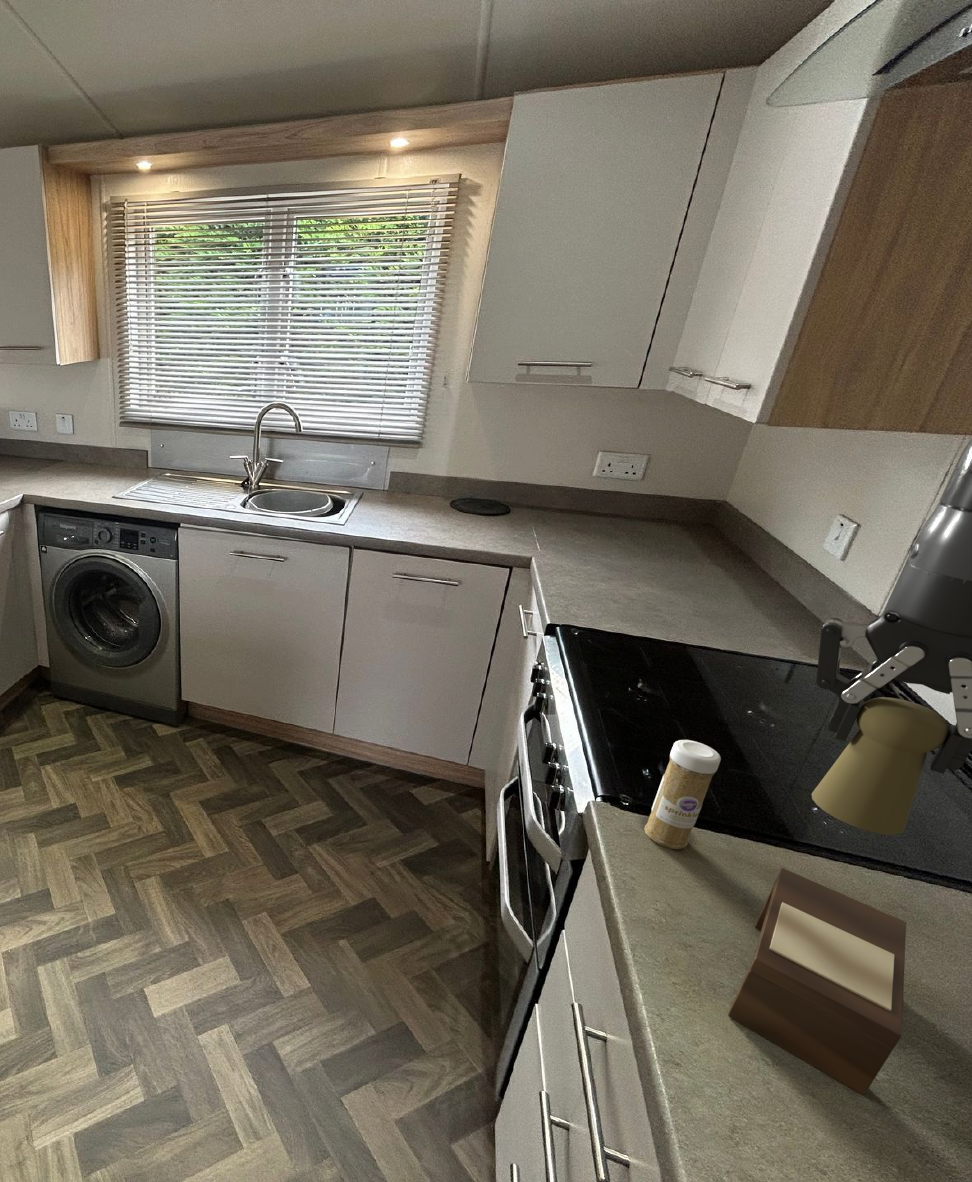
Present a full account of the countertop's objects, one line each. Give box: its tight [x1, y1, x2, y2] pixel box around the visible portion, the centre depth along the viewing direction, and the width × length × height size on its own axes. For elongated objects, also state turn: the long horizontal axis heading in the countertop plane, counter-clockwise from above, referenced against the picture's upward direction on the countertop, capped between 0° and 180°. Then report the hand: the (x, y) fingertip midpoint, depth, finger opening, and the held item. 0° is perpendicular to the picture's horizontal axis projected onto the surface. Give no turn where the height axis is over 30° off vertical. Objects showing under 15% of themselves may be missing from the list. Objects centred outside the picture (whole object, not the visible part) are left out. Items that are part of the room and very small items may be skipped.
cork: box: [811, 696, 949, 836], centre depth 55 cm, size 6×6×11 cm
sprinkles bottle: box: [644, 739, 722, 850], centre depth 78 cm, size 5×5×13 cm
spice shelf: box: [727, 867, 907, 1096], centre depth 59 cm, size 16×9×8 cm, turn 132°
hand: (886, 751), depth 55 cm, fingers closed on cork, 5 cm apart
